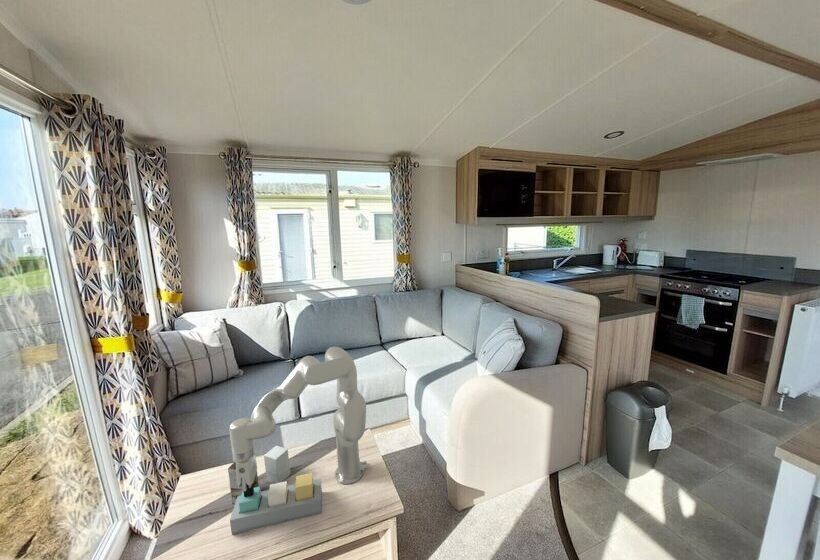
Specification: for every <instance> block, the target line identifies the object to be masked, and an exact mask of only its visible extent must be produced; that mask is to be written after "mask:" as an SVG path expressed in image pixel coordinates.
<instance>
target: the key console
mask: <svg viewBox="0 0 820 560" xmlns="http://www.w3.org/2000/svg"><path fill="white" fill-rule="evenodd" d="M295 484H296V483H295ZM295 484H291V485H287V487H288V500H287V503H286V504H282V505H277V506H273V507H269V504H268V493H269V489H266V490H262V491H261V490H260V491H261V503H260V507H259V510H255V511H250V512H246V513H241V514H240V508H239V501H240V498H241V496H238V497H237V500H236V503H234V506H233V510H232V513H231V516H230V518H229V524H230V530H231V535H237V534H241V533H245V532H249V531H254V530H258V529H263V528H267V527H271V526H274V525H279V524H283V523H287V522H293V521H296V520H301V519H305V518H309V517H314V516H317V515H323V514H322V512H323V510H322V509H323V502H322V500H323V489H322V488H323V487H322V478H319V479H315V480H314V479H313V485H314V494H313V498H309V499H304V500H300V501H296V492H295Z"/></svg>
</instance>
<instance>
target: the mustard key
mask: <svg viewBox="0 0 820 560" xmlns="http://www.w3.org/2000/svg"><path fill="white" fill-rule="evenodd" d="M295 477H296V478H295V492H296V501H300V500H304V499H309V498H313V494H314V485H313V480H314V475H313V472H311V473H305V474H299V475H296V476H295Z"/></svg>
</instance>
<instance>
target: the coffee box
mask: <svg viewBox="0 0 820 560" xmlns="http://www.w3.org/2000/svg"><path fill="white" fill-rule="evenodd" d="M227 472H228V479H229V480H228V481H229V489H230V497H231V503H232V504H235V503H236V500H237V497H238V496H241V494H242V484H241V487H238V483H237V474H236V462H235V461H233V463H232V464H231V465H230V466H229V467H228V469H227ZM253 486H254V488H256V487H260V484H259V477H258V470H257V471H256V475H255V478H254V482H253Z"/></svg>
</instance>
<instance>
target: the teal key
mask: <svg viewBox="0 0 820 560" xmlns="http://www.w3.org/2000/svg"><path fill="white" fill-rule="evenodd" d="M260 503H261V486H259V487H256V488H254V494H253V496H248V497H244V492H242V494H241V498H240V501H239V508H240V514H241V513H246V512H250V511H255V510H259V507H260Z"/></svg>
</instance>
